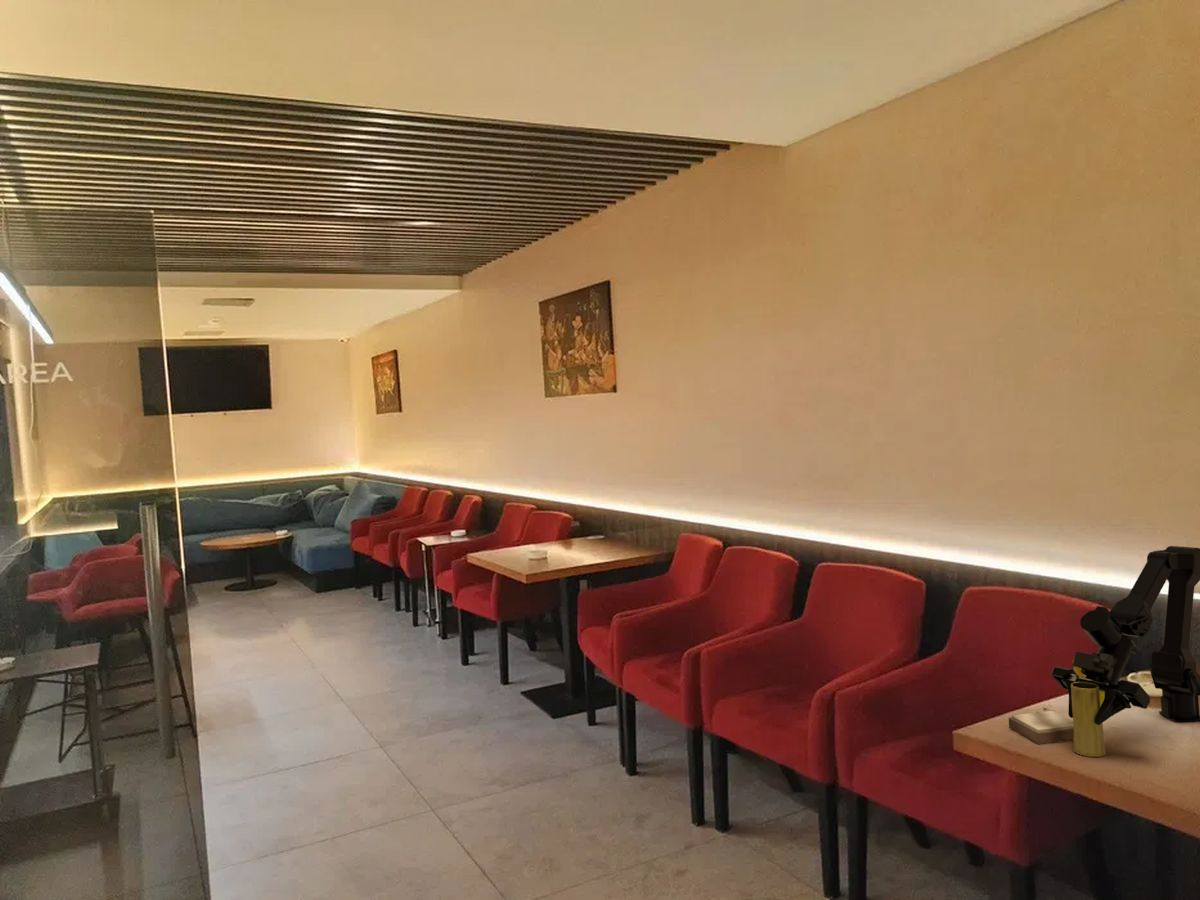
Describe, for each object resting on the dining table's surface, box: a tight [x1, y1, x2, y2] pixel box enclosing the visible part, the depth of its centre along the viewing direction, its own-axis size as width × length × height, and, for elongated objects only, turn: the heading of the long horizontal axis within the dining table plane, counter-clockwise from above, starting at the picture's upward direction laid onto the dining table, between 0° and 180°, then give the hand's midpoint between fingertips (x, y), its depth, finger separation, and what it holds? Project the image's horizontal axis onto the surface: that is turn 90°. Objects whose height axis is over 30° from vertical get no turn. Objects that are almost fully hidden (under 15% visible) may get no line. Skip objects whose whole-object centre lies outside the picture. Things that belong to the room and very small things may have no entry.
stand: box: [1008, 710, 1073, 745], centre depth 192 cm, size 11×11×3 cm
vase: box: [1071, 682, 1107, 758], centre depth 179 cm, size 6×6×14 cm
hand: (1083, 720), depth 179 cm, fingers closed on vase, 5 cm apart
